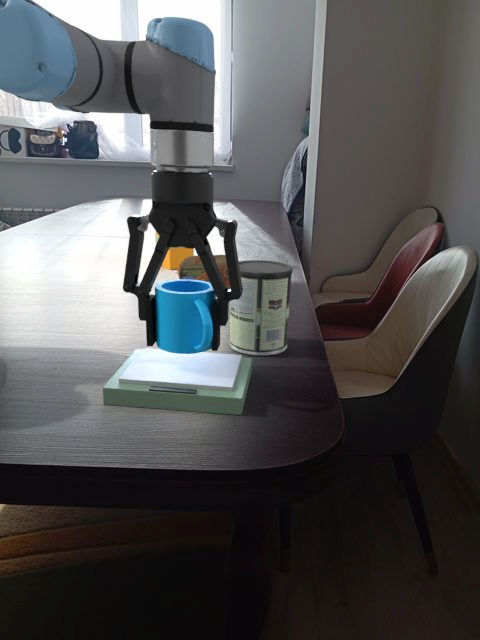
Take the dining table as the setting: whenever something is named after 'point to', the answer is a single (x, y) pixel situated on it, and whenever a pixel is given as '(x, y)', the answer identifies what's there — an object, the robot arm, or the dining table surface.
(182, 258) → the orange juice
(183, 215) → the robot arm
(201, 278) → the tin
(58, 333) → the dining table surface
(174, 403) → the scale
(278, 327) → the coffee can
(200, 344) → the mug
